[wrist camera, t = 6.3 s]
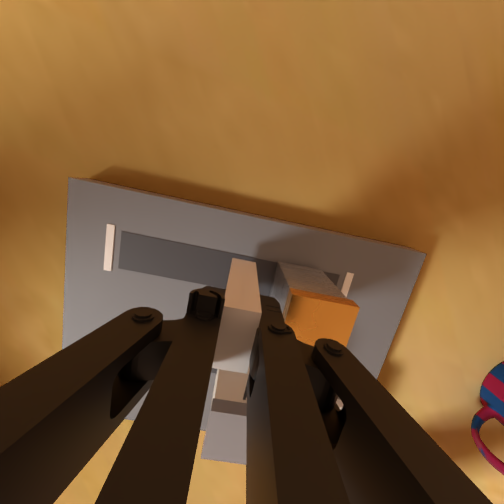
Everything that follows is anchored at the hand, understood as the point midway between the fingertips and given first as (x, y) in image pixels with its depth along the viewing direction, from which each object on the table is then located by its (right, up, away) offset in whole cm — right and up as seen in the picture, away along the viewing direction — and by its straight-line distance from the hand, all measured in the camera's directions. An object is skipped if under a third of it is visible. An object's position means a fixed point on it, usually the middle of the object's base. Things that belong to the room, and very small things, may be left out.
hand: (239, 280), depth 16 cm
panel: (-1, -4, +5) cm, 6 cm away
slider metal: (+4, -1, +2) cm, 4 cm away
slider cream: (0, -7, +3) cm, 7 cm away
